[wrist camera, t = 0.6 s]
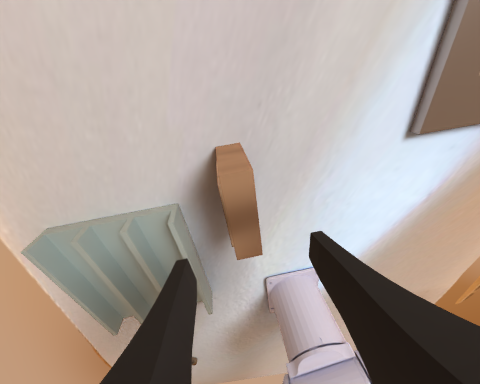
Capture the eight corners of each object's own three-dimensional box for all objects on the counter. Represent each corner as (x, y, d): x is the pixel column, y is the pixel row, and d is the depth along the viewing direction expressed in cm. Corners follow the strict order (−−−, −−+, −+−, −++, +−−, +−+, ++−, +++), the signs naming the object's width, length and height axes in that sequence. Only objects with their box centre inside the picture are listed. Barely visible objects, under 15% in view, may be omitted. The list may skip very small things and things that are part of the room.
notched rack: (212, 292, 27) (212, 313, 25) (122, 311, 27) (113, 335, 24) (178, 203, 19) (173, 222, 16) (46, 228, 18) (20, 252, 16)
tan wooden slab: (249, 212, 21) (262, 254, 16) (228, 216, 21) (234, 260, 16) (239, 142, 17) (252, 169, 12) (213, 147, 17) (214, 176, 12)
